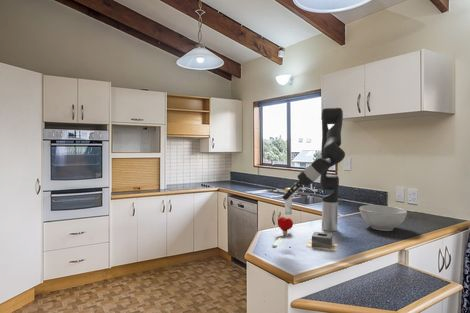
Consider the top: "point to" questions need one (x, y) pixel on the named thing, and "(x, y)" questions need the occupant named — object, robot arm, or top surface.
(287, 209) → the key peg
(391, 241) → the top surface
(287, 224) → the red rounded lobed piece
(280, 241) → the sage mat
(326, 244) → the stand
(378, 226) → the decorative bowl
